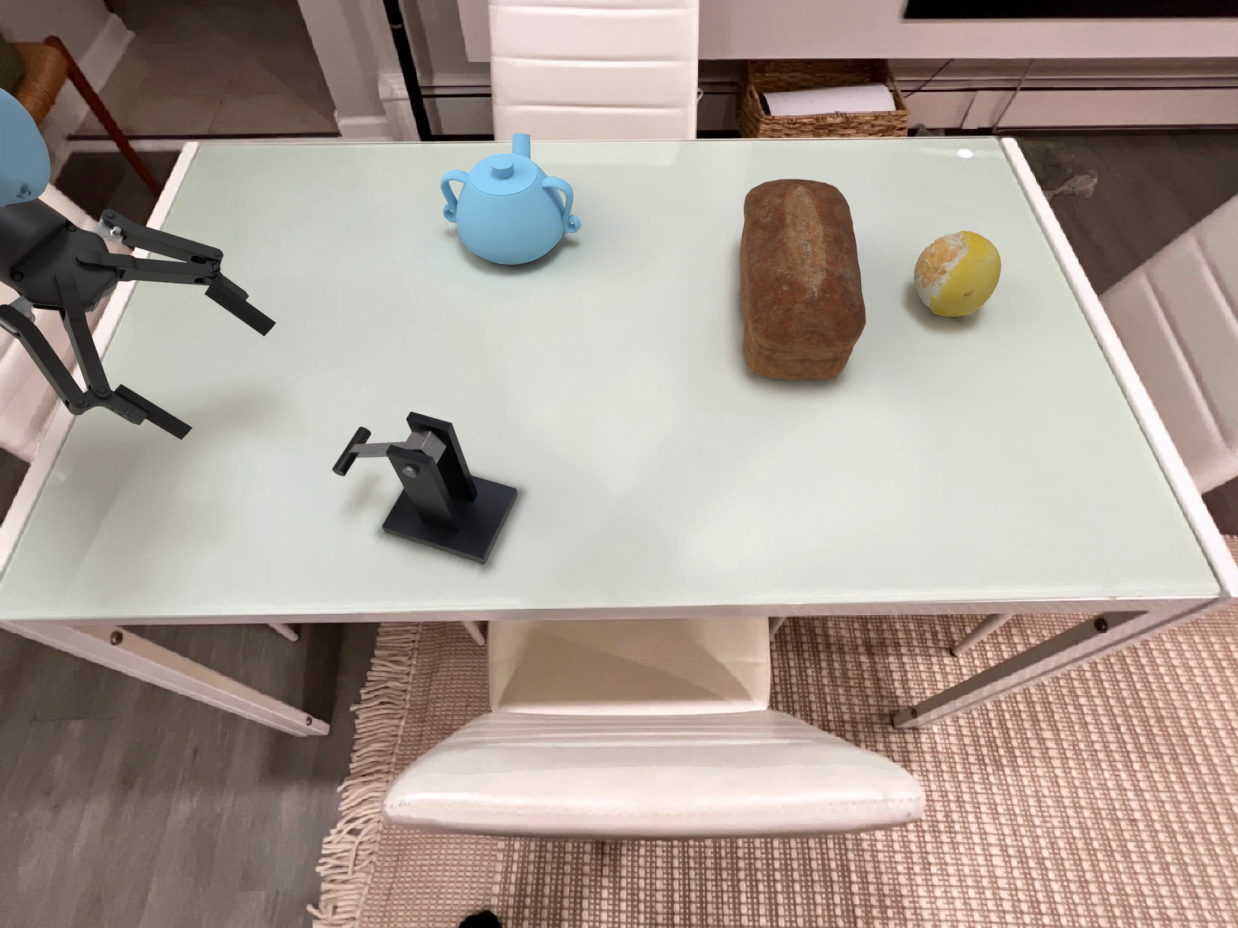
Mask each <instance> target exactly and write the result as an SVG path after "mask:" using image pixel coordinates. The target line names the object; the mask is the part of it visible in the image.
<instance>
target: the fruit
mask: <svg viewBox="0 0 1238 928" xmlns="http://www.w3.org/2000/svg"><path fill="white" fill-rule="evenodd" d="M1000 255H1001V254H1000V253H999V250H998V249H997V247H996V246H995V244H994V243H992V241H990V239H988V238H987V237H985V236H983V235H981V234H980V233H978V232H974V231H971V230H961V231H957V232H956V233H948V234H944V235H942V236H940V237H938V238H936V239H935V240H934V241H933V242H931V244H929V246H927V247H925V248H924V249H923V251H922V252H921V253H920V254H919V256H918V258H917V260H916V263H915V265H914V270H913V283H914V287H915V289H916V292H917V294H918V295H919V297H920V300H921V302H922V304H923V305H925V306H926V307H928V308H929V310H930V311H931V313H932V314H933V315H936V316H941V317H946V318H947V317H948V318H954V317H955V318H956V317H962V316H966V315H969V314H972V313H974V312H975V311H976V310H979V308H981V307H983V305H984V304H985V303H987V302H988V301H989V300H990V298H991V297H992V295H993V294H994V292H995V290H996V288H997V286H998V284H999V281H1000V277H1001V272H1002V260H1001V259H1002V258H1001V256H1000Z"/></svg>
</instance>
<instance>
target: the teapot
mask: <svg viewBox="0 0 1238 928" xmlns="http://www.w3.org/2000/svg"><path fill="white" fill-rule="evenodd" d="M511 142H512V144H511V145H512V147H511V148H512V151H511V153H509V152H507V153H497V154H493V155H490V156H487V157H485V158H483V159H481V160H480V161H479V162H477V163H475V164H474V166H473V167H472V169H471V170H470V172H467V171H464V170H461V169H451V170H449V171H447V172H445V173H444V174H443V175H442V177H441V179H440V189H441V192H442V195H443V197H444V199H445V201H446V203H447V204H445V205H444V206H443V208H442V214H443V217H444V219H445V220H447V221H448V222H450V223H454V224H456V230H457V234H458V237H459V240H460V241H461V243H463V245H464V246H465V248H467V249H468V250H469V251H470V252H471V253H473V254H474V255H476V256H477V257H480V258H481V259H484V260H486V261H488V262H491V263H495V264H499V265H511V266H512V265H522V264H527V263H530V262H533V261H535V260H539V259H540V258H542V257H543V256H545V255H546V254H547V253H548V252H550V251H551V250H552V249H553V248H554V247H555V246H556V245H557V244H558V243H559V241H560V240H561V239H562V237H563V235H564V233H567V234H574V233H577V232H578V231H579V230H580V228H581V225H582V222H581V219H580V218H579V217H578V216H577V215H575V214H571V213H572V209H573V204H574V197H575V196H574V195H575V194H574V190H573V187H572V186H571V184H570V183H569V182H567V180H565V179H564V178H561V177H558V176H549V175H547V173H546V172H545V171H544V170H543V169H542V168H541V166H539V164H537V163H536V162H535V161H533V159H531V157H532V156H531V153H532V152H531V134H528V133H519V132H518V133H512V141H511ZM451 181H456V182H460V183H462V187H461V189H460V193H459V195H458V199H457V196H455V193H454V192H453V190H452V187H451V185H450V182H451ZM560 192H562V194H564V196H565V204H564V201H563V198H562V196H561V194H560Z"/></svg>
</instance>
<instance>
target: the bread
mask: <svg viewBox="0 0 1238 928" xmlns="http://www.w3.org/2000/svg"><path fill="white" fill-rule="evenodd" d="M743 218H744V219H743V221H744V222H743V226H742V232H741V238H740V248H739V249H740V250H739V266H740V282H739V283H740V304H741V313H742V314H741V315H742V350H743V357H744V360H745V364H746V366H747V367H748V369H749V370H750V372H751V373H752V374H755V375H758V376H761V377H764V378H770V379H775V380H776V379H777V380H785V381H796V382H797V381H825V380H830V379H833V378H834V379H835V378H837V377H838V376H839V375H840V374H841V373H842V372H843V371H844V369H845V367H846V366H847V364H848V362H849V358H850V357H851V355H852V353H853V349H854V346H855V345H856V343H858V341H859V339H860V338H861V336H862V334H863V331H864V330H865V326H866V324H867V315H866V305H865V299H864V294H863V287H862V286H863V285H862V275H861V274H862V273H861V267H860V264H859V256H858V254H859V253H858V245H857V238H856V234H855V231H854V222H853V217H852V213H851V208H850V205H849V203H848V201H847V199H846V197H845V196H844V194H843V193H842V192H841V190H840V189H839V188H838V187H836V186H835V185H832V184H829V183H827V182H823V181H817V180H813V179H803V178H780V179H774V180H771V181H770V180H769V181H763V182H762V183H761V184H758V185H756V186H754V187H752V188H751V189H749V191H748V192H747V193H746V195H745V197H744V202H743Z"/></svg>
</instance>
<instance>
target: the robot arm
mask: <svg viewBox="0 0 1238 928" xmlns="http://www.w3.org/2000/svg"><path fill="white" fill-rule="evenodd" d="M51 167H52V166H51V159H50V154H49V149H48V146H47V144H46V141H45V138H44V137H43V136H42V134H41V132H40V130H39V128H38V127H37V124H36V121H35V120H34V119H33V116H32V115H31V114H30V113H29V111H28V110H27V109H26V108H25V107H24V105H23V104H21V102H20V101H19V100H17V99H16V97H14V96H13V95H12V94H11V93H10V92H8V91H6V90H5V89H3V88H1V87H0V283H2V284H4V285H5V286H7V287H9V288H11V289H12V290H14V291H15V292H16V293H17V295H18V296H19V297H17V298H16V299H14V300H13V301H11V302H9V304H6V303H3V304H0V328H1V329H3V330H4V331H6V332H7V333H8V334H10V335H11V336H13V337H14V338H15V339H16V340H18V341H19V342H20V344H21V346H22V347H23V349H24V350H25V352H26V353H27V354H28V356H29V357H30V358H31V360H32V361H33V363H34V364H35V365H36V367H37V368H38V369H39V371H40V373H41V374H42V375H43V377H44V378H45V380H46V381H47V382H48V384H49V385H50V386H51V388H52V390H53V391H54V393H55V394H56V395H57V397H59V400H60V401H61V402H62V404H63V405H64V407H65V408H66V409H67V410H68V412H69V413H70V414H71V415H73V416H82V415H83V414H85V413H86V412H88V411H90V410H92V409H94V408H97V407H100V408H101V407H102V408H105V409H106V410H108V411H110V412H112V413H114V414H115V415H117V416H119V417H121V418H123V419H124V420H126V421H127V422H129V423H131V424H132V425H136V426H141V425H142V424H143V422H144V421H145V420H146V421H148V422H149V423H152V424H153V425H155V426H157V427H158V428H160V429H162V430H163V431H165V432H167V433H168V434H169V435H172V436H173V437H175V438H177V439H178V440H180V441H182V440H183V439H185V437H186V436H187V435H188V434H189V433H190V431H191V430H192V429H193V426H192V425H190V424H188V423H187V422H184V421H183V420H181V419H180V418H178V417H177V416H175V415H173V414H172V413H170V412H168V411H166V410H165V409H163V407H160V406H159V405H157V404H155V403H153V402H152V401H151V400H149V399H147V398H146V397H144V396H142V395H141V394H139V393H137V392H136V391H134V390H132V389H131V388H129V387H127V386H126V385H124V384H122V383H120V384H119V385H118V386H117V387H116V388H115V389H114V390H112V389H111V387H110V383H109V381H108V378H107V374H106V372H105V370H104V366H103V365H102V364H103V363H102V361H101V357H100V355H99V352H98V350H97V346H96V344H95V341H94V338H93V336H92V335H93V334H92V333H91V330H90V328H89V327H90V326H89V324H88V321H87V315H86V313H87V314H88V313H89V312H91V313H93V312H94V311H95V310H96V309H97V308H98V307H99V305H100V303H101V301H102V299H104V298H106V297H108V296H110V295H111V294H112V293H113V292H114V291H115V290H116V289H117V287H118V283H119V282H123V283H128V282H132V281H137V282H149V283H151V282H152V283H165V284H179V285H192V286H205V287H206V286H207V287H208V288H207V289H206V291H205V292H204V295H205V296H206V297H207V298H209V299H210V300H212V301H213V302H215V303H216V304H218V305H219V306H220V307H222V308H223V309H224V310H225V311H227V312H229V313H230V314H231V315H233V316H234V317H236V318H237V319H238V320H240V321H241V322H243V323H244V324H246V325H247V326H248V327H250V328H251V329H253V330H254V331H256V332H257V333H259V334H260V335H261V336H262V337H266V335H268V333H270V331H272V329H273V328H274V326H275V325H276V324H277V322H276V321H275V320H273V319H272V318H271V317H269V316H268V315H266V314H265V313H264V312H262V311H261V310H259V309H258V308H257V307H255V306H254V305H253V304H251V303H250V302H249V301H247V300H248V298H250V295H249V294H248V292H247V291H246V290H245V289H244V288H242V287H240V286H239V285H237V284H236V283H235V282H234V281H232V280H231V279H230V278H228V277H227V276H225V275H224V274H223V273H222V270H221V269H222V268H221V264H222V261H223V258H224V256H225V255H224V252H223V251H222V250H221V249H220V248H218V247H216V246H215V247H214V246H211V245H208V244H205V243H203V242H202V243H201V242H199V241H195V240H192V239H189V238H185V237H182V236H179V235H176V234H173V233H169V232H166V231H162V230H160V229H157V228H153V227H149V226H146V225H143V224H140V223H137V222H134V221H132V220H130V218H128V217H125V216H124V215H122V214H121V213H119V212H117V211H115V210H114V209H111V208H106V209H104V210H103V211H102V212H101V216H100V219H99V221H98V222H97V223H96V224H95V226H94V227H93V229H92V230H86V229H84V228H81V227H79V226H77V225H76V224H75V223H73V221H71V220H70V219H69V218H68V217H66V216H65V215H63V214H62V213H60V212H59V211H58V210H56V209H55V208H54V207H52V206H50V205H49V204H48V203H46V202H44V201H43V200H42V199H41V198H39V197H41V196H42V195H43V193H44V192H45V191H46V189H47V187H48V185H49V182H50V179H51ZM106 242H111V243H114V244H119V243H122V244H124V245H127V246H129V247H132V248H136V249H139V250H143V251H147V252H150V253H153V254H157V255H160V256H163V257H167V258H171V259H174V260H166V259H165V260H164V259H156V258H155V259H154V258H146V257H145V258H144V257H136V256H134V255H132V254H126V253H114V252H110V250H109V248H108V246H107V244H106ZM176 260H177V261H176ZM32 309H35V310H36V309H37V310H42V311H43V310H44V311H55V312H58V314H59V317H60V320H61V323H62V326H63V328H64V331H65V333H66V334H67V336H68V340H69V343H70V345H71V347H72V350H73V353H74V356H75V359H76V361H77V364H78V365H77V366H78V368H79V370H80V373H81V376H82V378H83V381H84V384H85V387H86V389H87V390H86V391H84V392H83V390H82V389H81V387H80V386H79V384H78V383H77V381H76V380H75V378H74V377H73V375H72V374H71V373H70V371H69V370H68V369H67V366H65V364H64V363H63V361H62V360H61V358H60V357H59V355H58V354H57V353H56V351H55V350H54V348H53V346H52V345H51V344H50V343H49V341H48V340H47V339H46V337H45V336H44V334H43V333H42V331H41V330H40V329H39V327H38V326H37V325H36V321H37V319H36V315H35V314H34V312H33V311H32Z"/></svg>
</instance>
